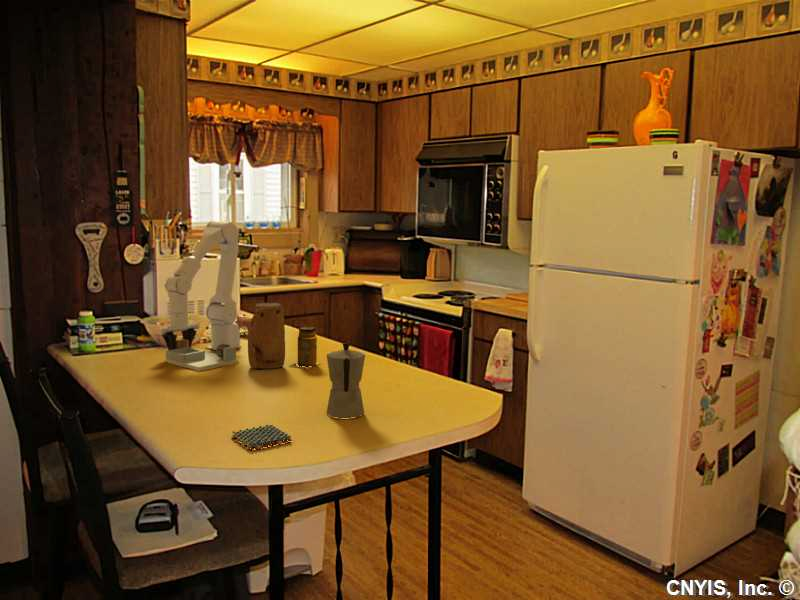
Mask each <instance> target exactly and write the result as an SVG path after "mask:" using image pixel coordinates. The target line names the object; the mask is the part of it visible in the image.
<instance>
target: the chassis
mask: <svg viewBox="0 0 800 600" xmlns="http://www.w3.org/2000/svg"><path fill="white" fill-rule="evenodd" d="M165 362H166V363H167V362H168V363H167V364H171V363H172V365H174V364H176V365H175V366H178V365H179V367H182V366H183V367H182V368H185V367H186V369H189V368H190V369H191V370H193V369H194V370H193V371H198V372H201V371H202V370H203V371H207V370H211V369H210V368H212V369H215V368H221V367H225V366H229V365H233V364H234V365H235V364H238V363H239V358H237V348H236V347H235V346H231V347H226V348H223V358H219V357H218V356H217V354H216V352H215V353H214V352H212V351H211V352H210V351H206V350H204V349H200V348H196V347H192V346H191V347H185V348H179V349H174V350H165ZM220 366H221V367H220ZM190 369H189V370H190ZM206 369H207V370H206ZM203 371H202V372H203Z"/></svg>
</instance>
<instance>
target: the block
mask: <svg viewBox="0 0 800 600" xmlns="http://www.w3.org/2000/svg"><path fill="white" fill-rule="evenodd" d="M251 318H252V320H251V323H250V325H249V327H248V330H247V336H248V337H247V354H248V355H247V356H248V359H247V360H248V364H249V366H250V368H251V369H256V370H257V369H264V370H266V369H278V368H281V367H284V365H285V361H286V329H285V328H286V327H285V317H284V308H283V306H282V305H281V304H280V303H277V302H271V303H270V302H269V303H267V302H260V303H256V304H255V306H254V314H253V316H252V317H251Z"/></svg>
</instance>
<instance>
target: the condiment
mask: <svg viewBox="0 0 800 600" xmlns="http://www.w3.org/2000/svg"><path fill="white" fill-rule="evenodd" d="M316 330H317V329H316V327H313V326H302V327H299V328H298V335H297V336H298V337H297V362H296V363H297V364H298V365H299V367H300V366H301V367H300V368H299V369H304V368H305V367H307V368H305V369H307V370H309V369H311V368H312V367H309V366H314V365H316V363H318V360H317V359H318V358H317V356H318V355H317V354H318V350H317V349H318V348H317V347H318V346H317V344H318V343H317V342H318V339H317V336H316V334H317V333H316ZM296 363H292V364H289V365H288V367H291V368H296V367H297V366H296ZM302 366H305V367H302ZM314 367H315V366H314ZM305 369H304V370H305Z"/></svg>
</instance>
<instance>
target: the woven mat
mask: <svg viewBox="0 0 800 600" xmlns="http://www.w3.org/2000/svg"><path fill="white" fill-rule="evenodd" d="M232 438H236V440H235V439H234V441H235V442H236V441H240V442H242V443H241V444H242V445H241V446H242V447H243V446H247V447H246V448H245V450H247V449H250V448H251V449H250V450H253V449H254V448H255V449H258V450H259V449H260V450H262V449H261V448H263V447H268V445H269V446H272V445H275V444H281V443H285V442H287V443H288V441H293V440H292V439H293V437H292V435H289V434H288V433H287V432H285V431H283V430H281V429H279V428H278V427H276V426H275V425H273V424H270V425H269V424H265V426H262V425H260V426H258V427H255V426H253V427H252V429H251V428H250V429H249V428H246V429H245V430H242V429H240V430H238V431H234V430H233V431H232V435H231V439H232ZM284 438H285V439H284ZM283 440H284V441H283ZM287 440H288V441H287ZM273 442H274V443H273ZM262 444H263V445H262ZM271 444H272V445H271ZM288 444H289V443H288ZM253 447H254V448H253Z"/></svg>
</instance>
